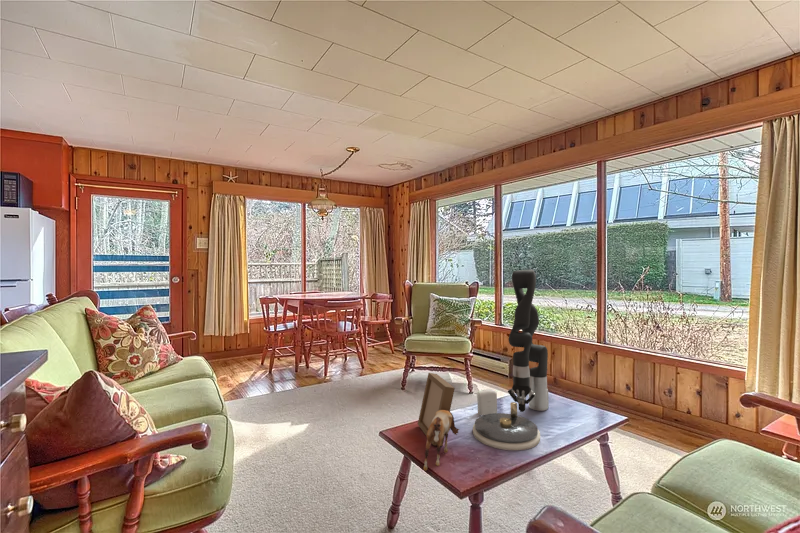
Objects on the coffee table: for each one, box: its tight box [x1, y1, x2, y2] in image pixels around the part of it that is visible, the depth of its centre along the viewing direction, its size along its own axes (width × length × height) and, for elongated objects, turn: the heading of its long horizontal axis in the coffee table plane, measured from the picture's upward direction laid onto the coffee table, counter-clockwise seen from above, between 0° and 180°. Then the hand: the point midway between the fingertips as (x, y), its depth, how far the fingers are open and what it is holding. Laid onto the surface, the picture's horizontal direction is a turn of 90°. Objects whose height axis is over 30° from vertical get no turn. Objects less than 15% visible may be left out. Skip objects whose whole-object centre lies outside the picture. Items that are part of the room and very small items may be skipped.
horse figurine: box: [423, 410, 460, 471], centre depth 146 cm, size 31×8×21 cm, turn 155°
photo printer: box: [476, 388, 498, 416], centre depth 189 cm, size 10×4×12 cm, turn 104°
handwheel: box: [474, 401, 539, 443], centre depth 165 cm, size 27×27×8 cm
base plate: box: [472, 422, 541, 451], centre depth 165 cm, size 29×29×2 cm
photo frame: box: [417, 372, 455, 447], centre depth 167 cm, size 15×22×25 cm
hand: (522, 411), depth 173 cm, fingers closed
